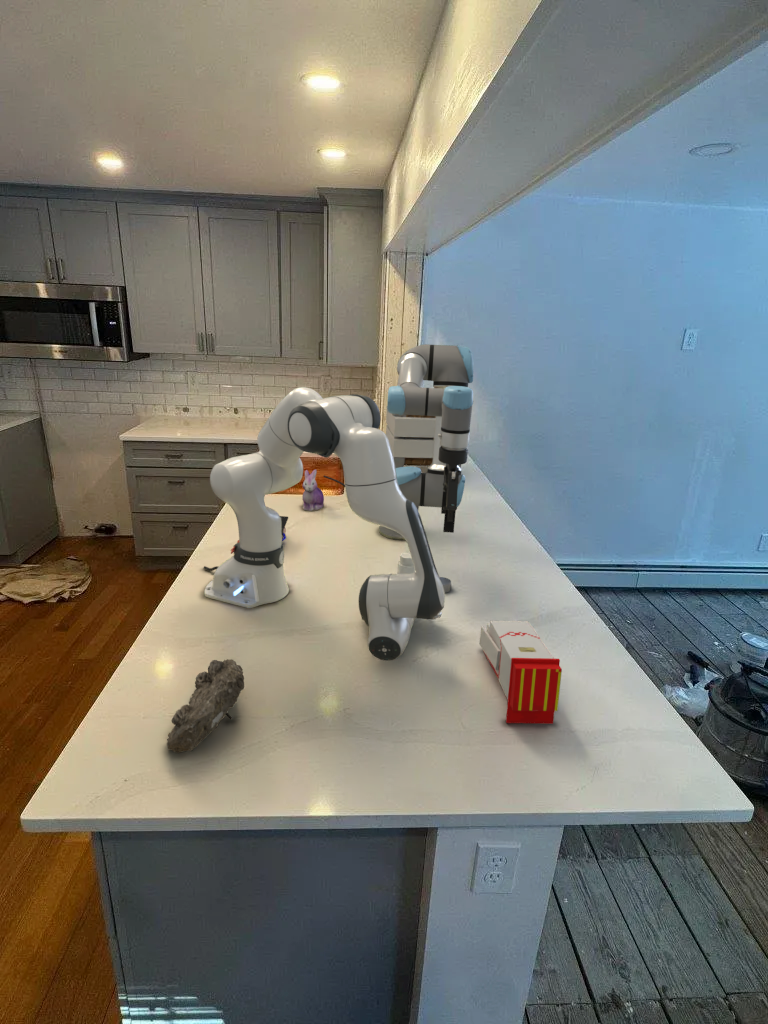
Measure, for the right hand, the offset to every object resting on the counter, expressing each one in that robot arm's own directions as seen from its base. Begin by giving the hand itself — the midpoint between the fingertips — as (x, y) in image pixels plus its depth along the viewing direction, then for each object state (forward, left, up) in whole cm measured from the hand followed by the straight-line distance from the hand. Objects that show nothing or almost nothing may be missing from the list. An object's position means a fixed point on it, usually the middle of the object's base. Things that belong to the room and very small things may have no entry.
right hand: (447, 522), depth 156 cm
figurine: (-77, +8, -20) cm, 80 cm away
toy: (+40, -19, -20) cm, 48 cm away
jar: (+3, -18, -20) cm, 27 cm away
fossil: (+11, -75, -20) cm, 78 cm away
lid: (0, 0, -18) cm, 18 cm away
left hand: (+3, -17, -14) cm, 22 cm away
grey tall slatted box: (-90, +78, -20) cm, 121 cm away
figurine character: (-54, -22, -20) cm, 62 cm away
